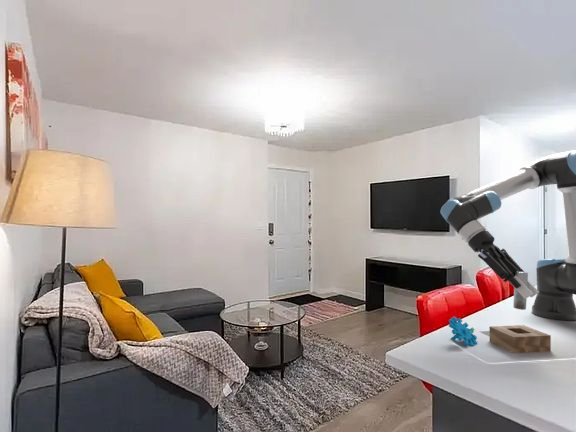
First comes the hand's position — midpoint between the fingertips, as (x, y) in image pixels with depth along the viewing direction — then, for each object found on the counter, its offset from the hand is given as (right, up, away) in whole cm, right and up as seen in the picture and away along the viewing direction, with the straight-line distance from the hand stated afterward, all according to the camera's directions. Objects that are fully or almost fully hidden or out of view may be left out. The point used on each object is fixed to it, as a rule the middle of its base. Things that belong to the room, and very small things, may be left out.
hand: (532, 295), depth 104 cm
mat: (-1, -17, +13) cm, 21 cm away
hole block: (-2, -17, +3) cm, 17 cm away
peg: (-2, -5, +3) cm, 6 cm away
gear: (-17, -17, +7) cm, 25 cm away
